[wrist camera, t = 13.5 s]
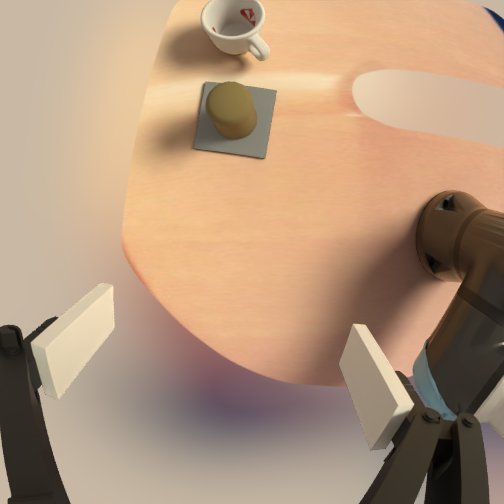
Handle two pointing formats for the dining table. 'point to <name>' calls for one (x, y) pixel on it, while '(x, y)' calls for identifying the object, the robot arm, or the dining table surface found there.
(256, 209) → the dining table surface
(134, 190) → the dining table surface
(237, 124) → the pepper mill
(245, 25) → the cup
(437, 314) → the dining table surface
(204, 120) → the coaster
